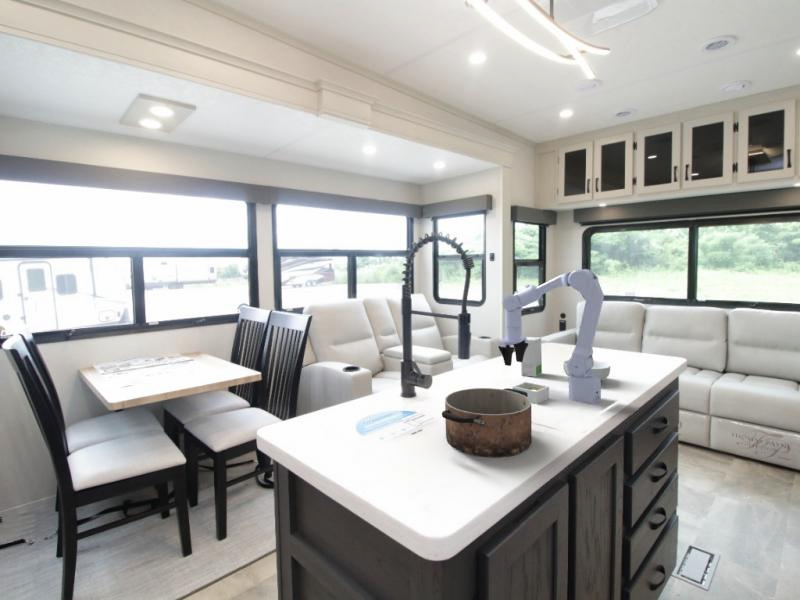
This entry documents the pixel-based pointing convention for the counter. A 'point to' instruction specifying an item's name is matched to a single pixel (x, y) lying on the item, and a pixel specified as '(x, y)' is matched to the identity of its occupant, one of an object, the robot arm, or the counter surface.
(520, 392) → the cooking pot
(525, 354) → the skincare box
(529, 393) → the tub
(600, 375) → the cereal bowl
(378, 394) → the counter surface
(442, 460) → the counter surface
